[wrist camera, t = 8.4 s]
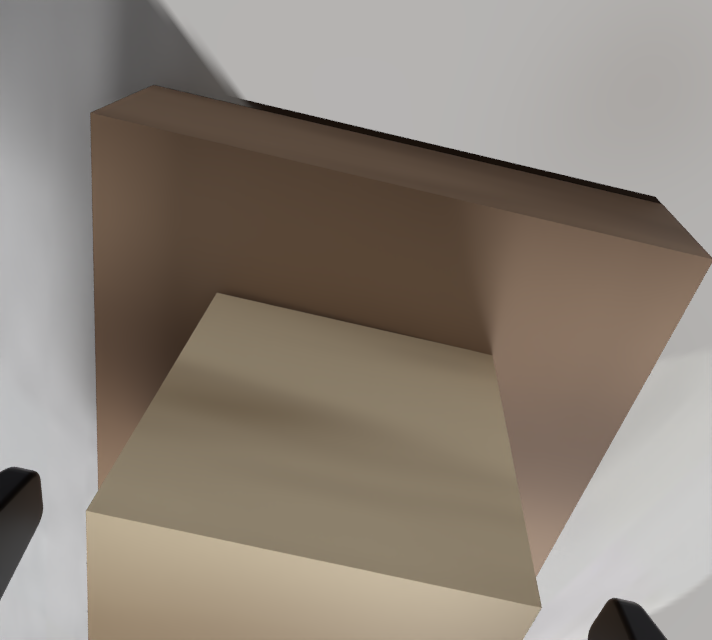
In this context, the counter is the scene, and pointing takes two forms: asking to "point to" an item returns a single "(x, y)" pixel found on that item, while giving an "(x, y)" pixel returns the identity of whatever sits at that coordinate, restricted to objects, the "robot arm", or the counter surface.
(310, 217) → the walnut block
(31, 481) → the robot arm
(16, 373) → the counter surface
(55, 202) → the counter surface
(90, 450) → the counter surface
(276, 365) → the maple cube
